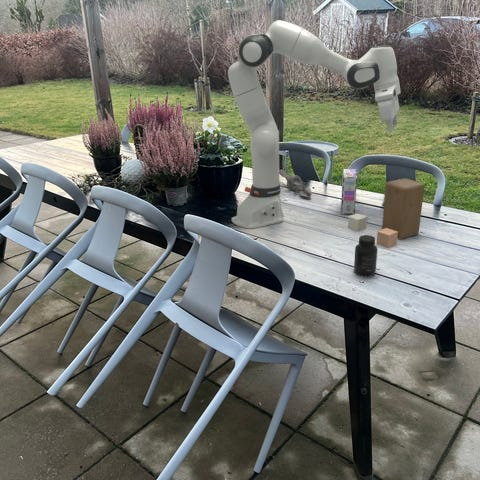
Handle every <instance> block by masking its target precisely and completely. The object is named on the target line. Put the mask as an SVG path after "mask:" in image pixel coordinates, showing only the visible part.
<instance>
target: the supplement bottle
mask: <svg viewBox="0 0 480 480" xmlns="http://www.w3.org/2000/svg"><path fill="white" fill-rule="evenodd" d="M375 241H376V238H375V236H373V235H368V234H364V235H360V236H359V237H358V243H357V244H356V246H355V249H354V262H353V263H354V264H353V266H354V267H353V272H355V274H356V275H359V276H361V277H371V276H373V275H375V274H376V271H377V261H378V247H377V245H376V242H375Z"/></svg>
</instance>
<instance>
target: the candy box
mask: <svg viewBox="0 0 480 480" xmlns="http://www.w3.org/2000/svg"><path fill="white" fill-rule="evenodd" d="M341 181H342V182H341V202H340V204H341V207H340V208H341V212H340V214H341V215H354V214H356V199H357V184H358V174H357V169H356V168H343V169H342V180H341Z"/></svg>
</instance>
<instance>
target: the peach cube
mask: <svg viewBox="0 0 480 480" xmlns="http://www.w3.org/2000/svg"><path fill="white" fill-rule="evenodd" d="M397 236H398V232H397V231H394V230H391V229H388V228H385V229H382V228H381V230H378V231H377V233H376V242H375V245H379V246H381V247H383V248H386V249H389V248H392V247H394V246H397V244H398V238H397Z"/></svg>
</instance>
